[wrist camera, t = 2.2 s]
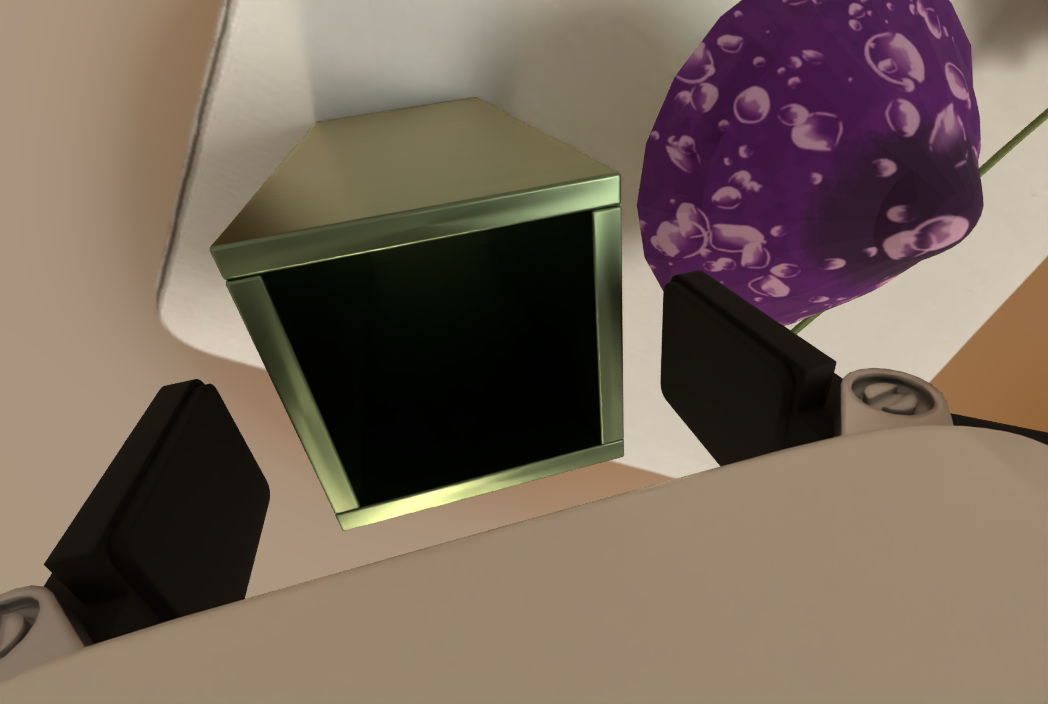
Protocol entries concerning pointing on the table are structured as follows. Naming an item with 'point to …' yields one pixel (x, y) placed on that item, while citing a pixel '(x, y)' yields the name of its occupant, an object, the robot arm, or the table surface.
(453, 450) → the box
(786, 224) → the decorative mushroom
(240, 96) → the table surface
